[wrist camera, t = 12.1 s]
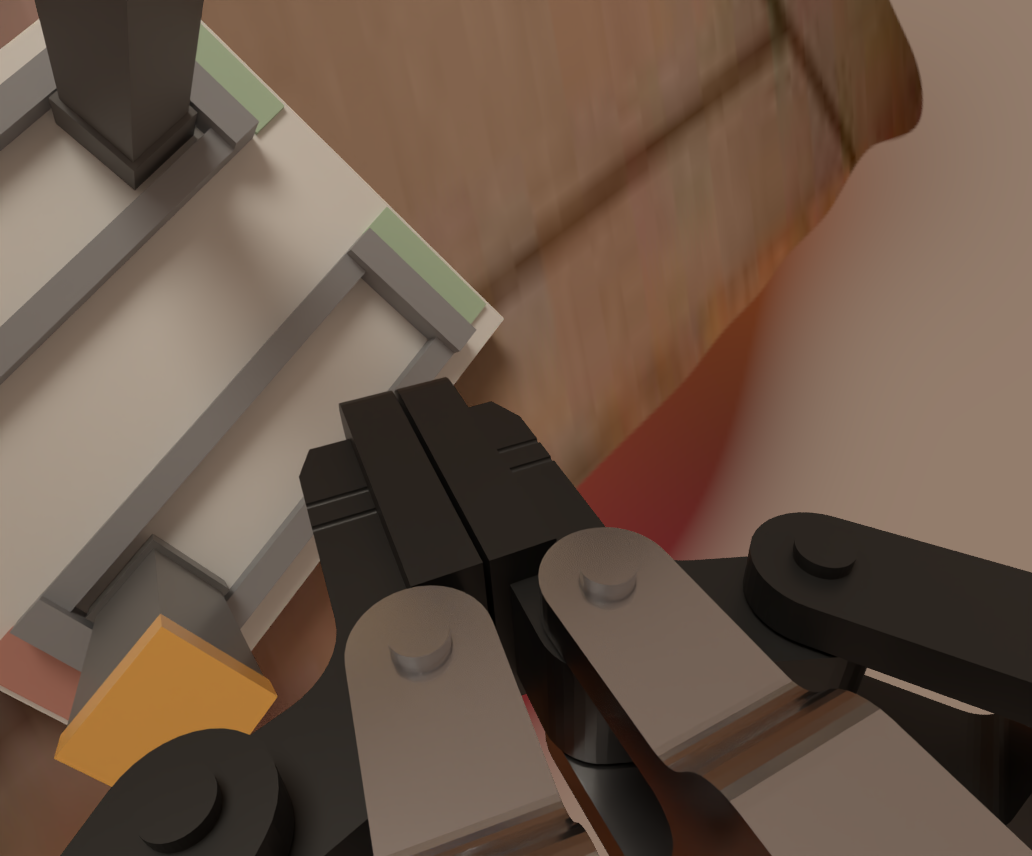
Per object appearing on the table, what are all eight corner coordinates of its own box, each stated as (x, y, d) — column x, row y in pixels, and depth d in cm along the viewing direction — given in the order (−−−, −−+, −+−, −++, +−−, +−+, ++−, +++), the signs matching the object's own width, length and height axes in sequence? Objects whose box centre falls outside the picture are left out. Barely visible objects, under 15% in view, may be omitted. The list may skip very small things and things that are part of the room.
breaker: (167, 652, 24) (186, 833, 13) (89, 606, 23) (39, 763, 12) (224, 580, 25) (288, 693, 14) (152, 533, 24) (160, 615, 13)
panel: (158, 749, 26) (172, 1065, 13) (-435, 437, 19) (-1656, 437, 6) (485, 324, 33) (712, 250, 20) (129, -19, 26) (115, -484, 13)
